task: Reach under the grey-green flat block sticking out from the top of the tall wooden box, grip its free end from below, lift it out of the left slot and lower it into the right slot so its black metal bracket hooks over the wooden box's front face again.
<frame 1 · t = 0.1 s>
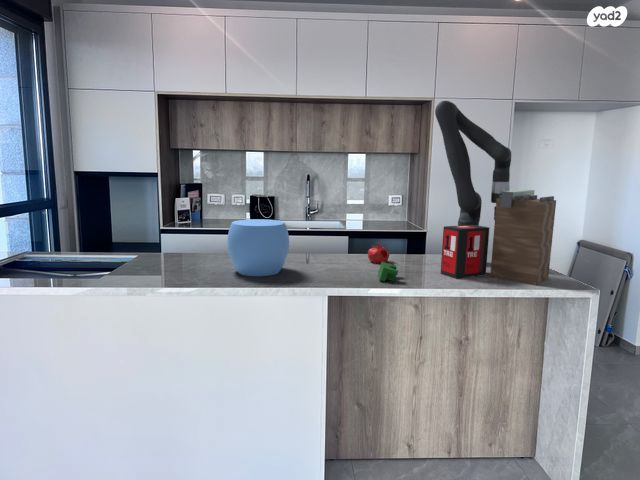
hand: (498, 228, 208), 17 cm above the countertop, tool pointing down, fingers open, 8 cm apart
planter: (258, 271, 191), on the countertop
wooden box: (518, 278, 189), on the countertop
pomegranate: (378, 262, 214), on the countertop
grey-green flat block: (519, 198, 190), point 32 cm above the countertop, touching wooden box
green blocky piece: (387, 279, 183), on the countertop
cleaning product box: (463, 274, 193), on the countertop
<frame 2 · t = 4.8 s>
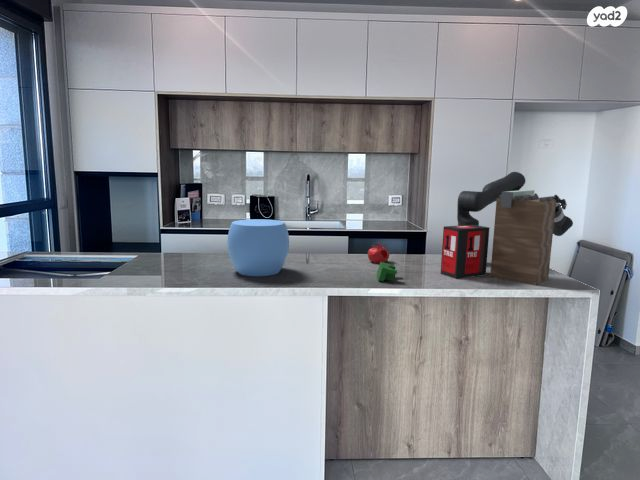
hand: (544, 195, 208), 32 cm above the countertop, tool pointing upward, fingers open, 8 cm apart
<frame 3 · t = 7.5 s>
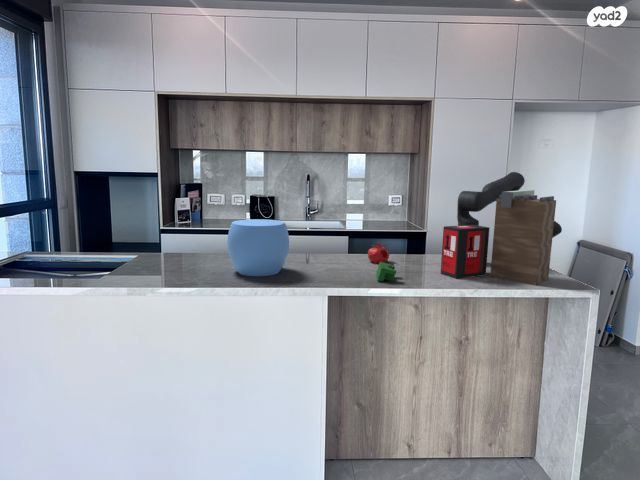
hand: (531, 199, 201), 31 cm above the countertop, tool pointing upward, fingers open, 8 cm apart
nothing on the countertop moved.
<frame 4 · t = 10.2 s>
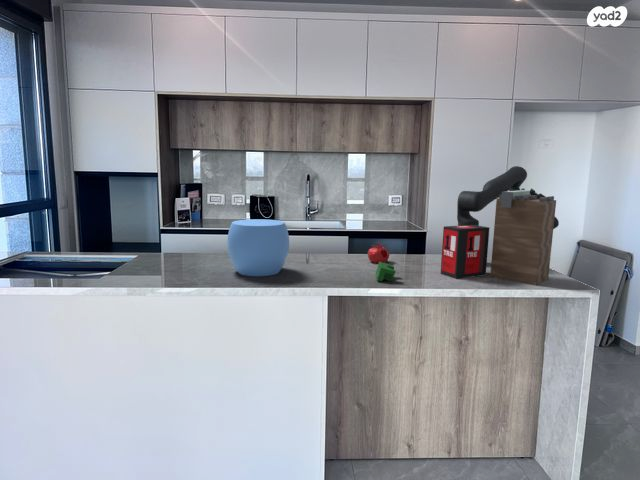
hand: (526, 190, 195), 35 cm above the countertop, tool pointing upward, fingers closed on grey-green flat block, 3 cm apart
grey-green flat block: (519, 198, 190), point 32 cm above the countertop, touching gripper, wooden box
everything else where it was.
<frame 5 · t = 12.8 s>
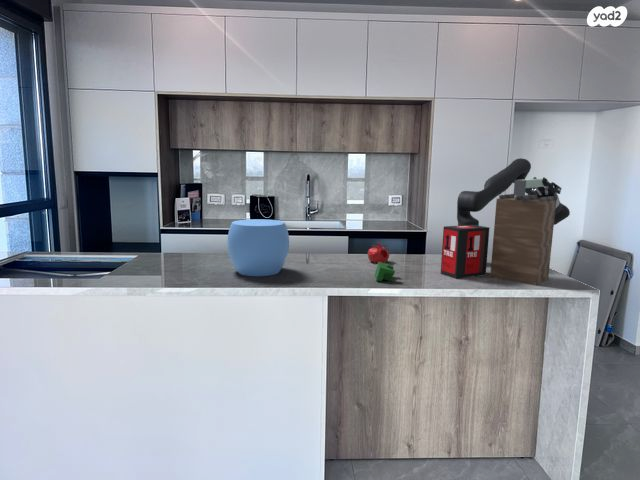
hand: (538, 179, 191), 40 cm above the countertop, tool pointing upward, fingers closed on grey-green flat block, 3 cm apart
grey-green flat block: (531, 187, 186), point 37 cm above the countertop, touching gripper
when the fingers open (36 cm above the countertop, at t = 15.5 s): grey-green flat block stays where it is, resting on wooden box.
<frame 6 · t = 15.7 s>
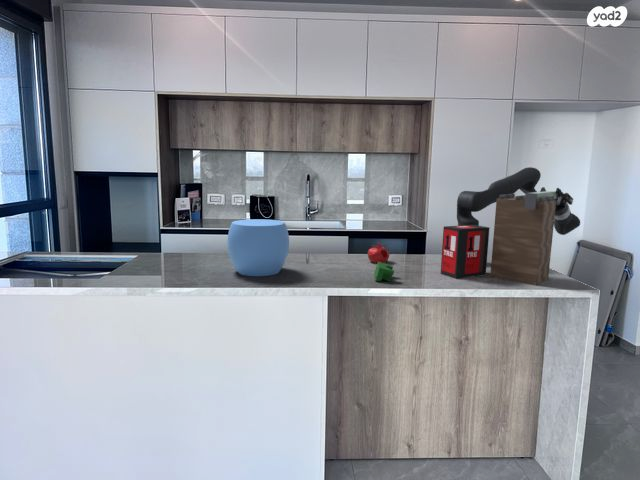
hand: (549, 189, 189), 36 cm above the countertop, tool pointing upward, fingers open, 5 cm apart
grey-green flat block: (542, 199, 184), point 32 cm above the countertop, touching wooden box
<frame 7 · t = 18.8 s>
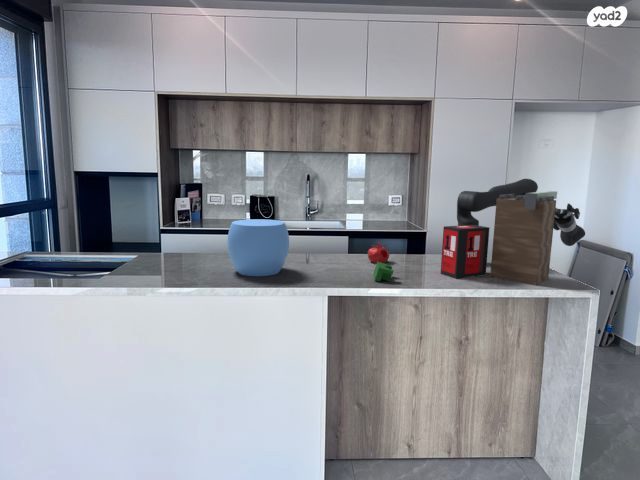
hand: (557, 204, 198), 29 cm above the countertop, tool pointing upward, fingers open, 8 cm apart
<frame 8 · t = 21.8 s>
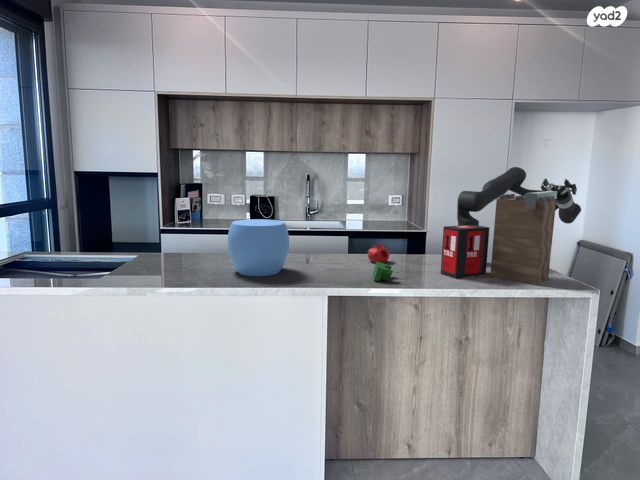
hand: (555, 180, 207), 39 cm above the countertop, tool pointing upward, fingers open, 8 cm apart
at the end: grey-green flat block 0.1 cm from the target spot on the wooden box, point 32.0 cm above the wooden box's base; grey-green flat block tilted 0°; the gripper is holding nothing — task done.
